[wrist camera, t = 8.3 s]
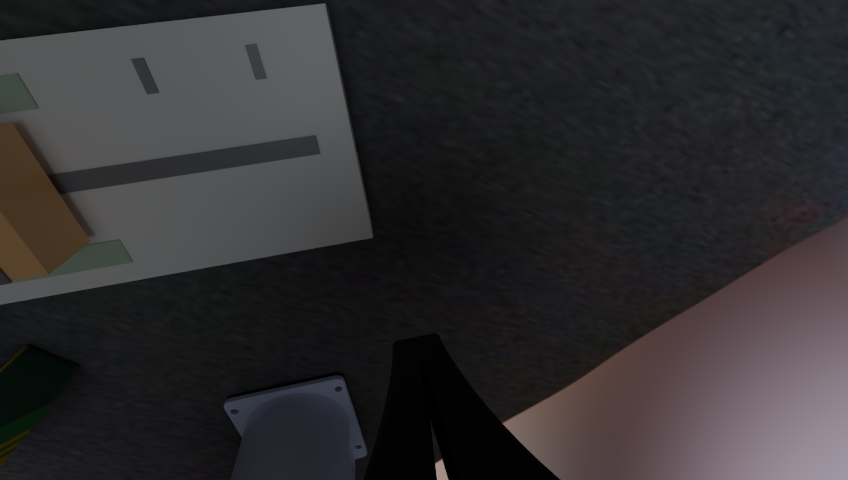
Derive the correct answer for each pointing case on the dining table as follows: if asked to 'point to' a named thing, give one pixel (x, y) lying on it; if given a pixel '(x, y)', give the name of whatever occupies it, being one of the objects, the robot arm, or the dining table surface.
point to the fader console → (188, 142)
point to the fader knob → (31, 215)
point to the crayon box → (28, 393)
